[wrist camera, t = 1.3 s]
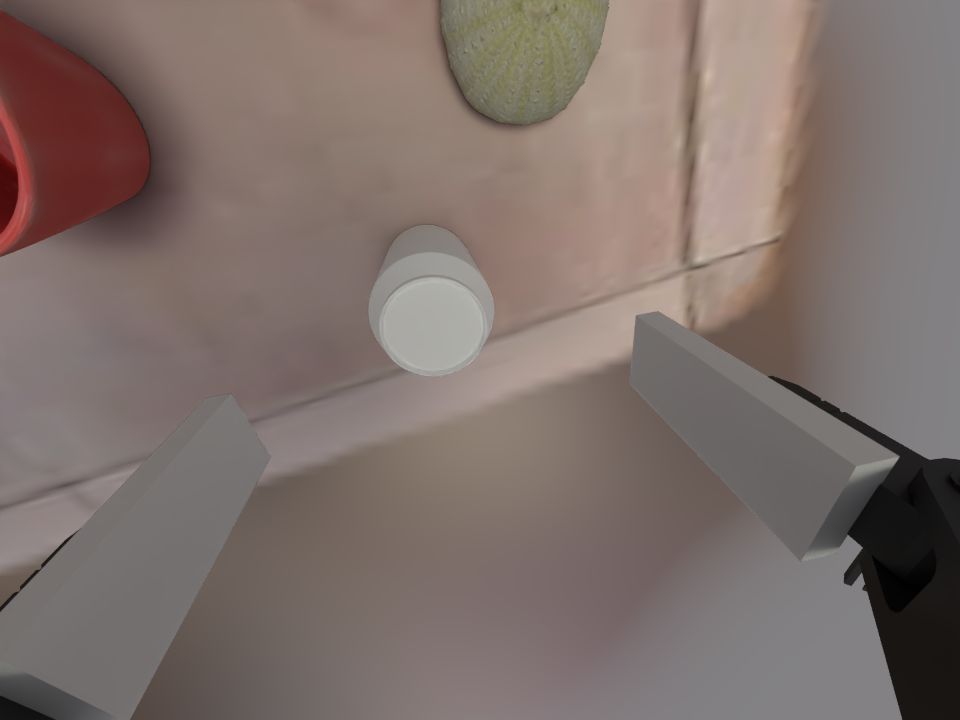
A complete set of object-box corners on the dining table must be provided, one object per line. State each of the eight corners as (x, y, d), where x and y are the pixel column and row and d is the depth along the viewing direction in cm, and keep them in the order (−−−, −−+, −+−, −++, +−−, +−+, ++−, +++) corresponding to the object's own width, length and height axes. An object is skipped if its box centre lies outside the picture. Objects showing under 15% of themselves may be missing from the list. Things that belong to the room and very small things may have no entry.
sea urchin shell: (440, 136, 20) (446, -57, 13) (435, 43, 23) (438, -169, 15) (583, 146, 22) (666, -22, 14) (566, 58, 24) (629, -128, 16)
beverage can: (468, 305, 28) (496, 385, 17) (389, 305, 27) (370, 391, 16) (471, 223, 25) (507, 262, 14) (383, 220, 24) (354, 260, 13)
